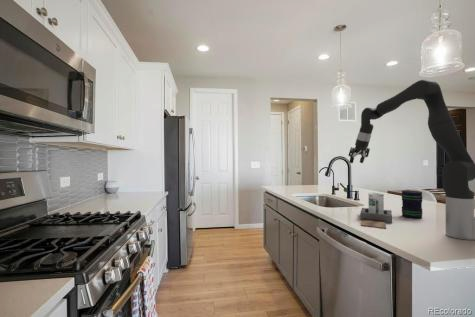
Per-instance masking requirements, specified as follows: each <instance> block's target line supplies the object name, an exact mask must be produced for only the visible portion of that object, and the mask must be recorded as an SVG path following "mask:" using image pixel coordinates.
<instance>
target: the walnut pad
mask: <svg viewBox="0 0 475 317" xmlns="http://www.w3.org/2000/svg"><path fill="white" fill-rule="evenodd" d="M360 226H361V227H369V228H375V229H383V230H386V229H387V223H386V222H378V221H369V220H361V223H360Z"/></svg>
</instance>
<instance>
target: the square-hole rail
mask: <svg viewBox="0 0 475 317" xmlns="http://www.w3.org/2000/svg"><path fill="white" fill-rule="evenodd" d="M368 211H369V207H362V208H361V210H360V212H359V214H360V216H359V217H360V218H359V220H361V221H362V220H369V221H378V222H386V224H393V214H392V210H391V209H390V210H389V209H384V214H376V213H368Z"/></svg>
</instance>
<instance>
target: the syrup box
mask: <svg viewBox="0 0 475 317" xmlns="http://www.w3.org/2000/svg"><path fill="white" fill-rule="evenodd" d="M384 197H385V194H384V193H378V192H368V200H367V201H368V208H369V211H368V213H376V214H384V210H385V209H384V208H385V207H384V206H385V203H384V202H385V201H384V199H385V198H384Z"/></svg>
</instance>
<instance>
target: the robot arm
mask: <svg viewBox="0 0 475 317" xmlns="http://www.w3.org/2000/svg"><path fill="white" fill-rule="evenodd" d="M413 100H423V101H424V103H425V106H426V107H427V109H428V110H427V111H428V118H427V125H428V129H429V132H430V134H431V136H432V138H433V140H434V141H435V143H436V144H437V145H438V146H439V147H440V148H441V149H442V150H443V151H444V152H445V153H446V155H447V156H448V159H449V162H448V161H447V162H446V163H445V164H444V166H443V168H442V173H441V174H442V176H441V177H442V188H443V190H444V193H445V235H446V236H448V237H451V238H453V239H460V240H467V241H469V240H472V241H473V240H474V241H475V193H474V191H473V190H471V189H470V187H469V182H471V181H473V180H475V162H474V160H473V159H472V157H471V156H470V154H469V152H468V150H467V149H466V147H465V144H464V141H463V140H462V138H461V135H460V133H459V131H458V128H457V125H456V123H455V121H454V119H453V117H452V115H451V113H450V111H449V108H448V107H447V105H446V101H445V99H444V96H443V92H442V89H441V86H440V84H439V83H438V82H437V81H434V80H428V79H421V80H417V81H416V82H414V83H412V84H411V85H409V86H407V87H406V88H405V89H404V90H402V91H400V92H399V93H398V94H396V95H394V96H391V97H390V98H387V99H385V100H383V101H382V102H380V103H378V104H377V105H376V106H375V107H365V108H364V109H363V110H362V111H361V116H360V118H361V119H360V127H359V132H358V134H357V136H356V139H355V143H354V145H355V147H350V150H349V153H348V157H350V159H349V161H348V162H349V163H350V164H353V163H354V160H355V157H357V156H358V155H360V156H361V157H360V160H359V163H361V164H363V163H364V161H365V159H366V158H368V157H369V155H370V154H369V153H370V150H371V149H370V147H369V144H370V140H371V138H372V133H373V130H374V125H373V123H371V121H372V120H377V119H380V118H382V117H383V116H384V115H386V114H388V113H390V112H393V111H396V110H397V109H398V108H399V107H401V106H402V105H403V104H404V103H406V102H410V101H413Z"/></svg>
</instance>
